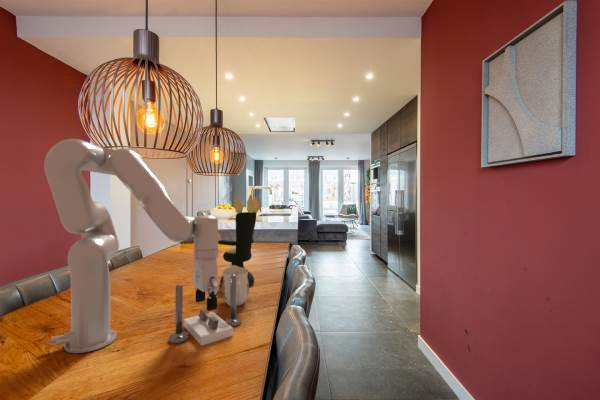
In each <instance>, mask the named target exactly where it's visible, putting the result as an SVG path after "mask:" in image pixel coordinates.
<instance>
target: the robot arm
mask: <svg viewBox="0 0 600 400" xmlns="http://www.w3.org/2000/svg"><path fill="white" fill-rule="evenodd" d="M43 163H44V164H43V167H44V168H43V170H44V173H45V174H44V175H45V177H46V180H47V183H48V186H49V188H50V192H51V194H52V197H53V201H54V204H55V207H56V210H57V213H58V217H59V219H60V220H59V221H60V223H61V225H62V227H63V229H64V230H65V231H67V232H68V233H70V234H76V235H79V234H80V236H81V239H78V240H77V241H76V242H75V243H73V244H72V246H71V247H70V249H69V250H68V254H67V265H68V272H69V277H70V328H69V331H68V332H65V333H64V334H61V335H54V336H51V337H50V345H54V344H55V346H56V347H58V346H60V345H63V346H64V349H63V350H65V352H67V353H70V354H83V353H88V352H92V351H97V350H99V349H102V348H105V347H106V346H109V345H111V344H112V343H113V342H114V341H115V340H116V338H117V331H115V330H113V329H111V275H110V269H109V261H111V260H112V259H113V258H114V257H115V256H116V255H117V254H118V253H119V250H120V249H119V248H120V244H119V239H118V235H117V232H116V230H115V226H114V223H113V220H112V217H111V214H110V212H109V210H108V209H107V207H106V206H105V205H104V204H102V203H101V202H98V201H94V200H93V197H92V196H91V192H90V189H89V185H88V183H87V181H86V179H85V178H84V176H83V173H82V172H83V171H85V172H92V173H97V174H98V173H99V174H105V175H111V176H116V177H117V178H118V180H119V181H120V182H121V183H122V184H123V185H124V186H125V188H127V190H128V191H129V192H130V194H132V195H133V197H135V199H136V200H137V201H138V203H139V204H140V206H141V208H142V209H143V210H144V212H146V214H147V215H148V217H149V219H150V220H151V221H152V222H153V223H154V224H155V226H156V227H157V228H158V229H159V230H160V231H161V232H162V233H163V234H164V236H165V237H167V238H168V239H169V240H170V241H172V242H176V243H182V242H185V241H187V240H188V239H190V237H191V238H193V260H194V262H193V271H192V272H193V274H192V275H193V278H192V284H193V286H194V287H195V288H194V289H195V303H199V302H204V301H206V311H207V312H212V311H214V310H217V309H218V296H219V295H218V294H219V290H220V288H219V285H218V283H219V280H218V276H219V275H218V262H217V259H218V258H219V244H218V233H219V222H218V221H219V220H218V218H217V217H216V216H213V215H201V216H190V215H184V214H183V213H182V212H181V211H180V210H179V209H178V208H177V206H175V204H174V203H173V201H172V200H171V198H170V197H169V196H168V193H167V190H166V187H165V186H164V184H163V183H162V182H161V181H160V180H159V179H158V177H157V176H156V175H155V174H154V173H153V172H152V170H151V169H150V168H149V167H148V166H147V164H146V161H145V159H144V158H143V157H142V155H140V153H137V152H136V151H134V150H132V149H130V148H126V147H125V148H124V147H123V148H118V149H113V148H108V147H105V146H98V145H96V144H93V143H91V142H89V141H85V140H83V139H80V138H68V139H67V138H66V139H63V140H60V141H58V142H57V143H55V144H53V146H52V147H51V148H50V149H49V150H48V151H47V153H46V155H45V158H44V162H43ZM206 296H207V297H206Z"/></svg>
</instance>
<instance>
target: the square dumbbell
mask: <svg viewBox="0 0 600 400" xmlns="http://www.w3.org/2000/svg"><path fill="white" fill-rule="evenodd" d="M209 313H210V311H207V309H206V308H205V309H204V308H203V309H202V308H201V309H199V314H198V315H199V317H200V318H201V319H202V320H208V318H209V321H208V326H209V327H211V328H212V329H217V327H218V320H217V319H216V318H215V317H212V316H211V315H209Z"/></svg>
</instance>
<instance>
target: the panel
mask: <svg viewBox="0 0 600 400" xmlns="http://www.w3.org/2000/svg"><path fill="white" fill-rule="evenodd" d="M209 315H211V316H212V317H215V318H216V319H217V320H218V327H217V329H212V328H211V327H209V326H208V321H209V318H208V320H202V319H201V318H200V317H199V314H198V315H195V316H192V317H191V316H190V317H187V318H183V327H184V329H186V331H188V334H190V335H191V336H192V337H193V338H194V339H195V341H196V342H198V344H199V345H200V346H201V347H202V346H205V345H208V344H212V343H215V342H217V341H221V340H224V339H227V338H230V337H233V335H234V330H233V329H234V327H231V326H230V325H229V324H227V323H226V322H225V320H224V319H222V318H221V317H220V316H219V315H217V314H216V313H215V312H214V311H209Z"/></svg>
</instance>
